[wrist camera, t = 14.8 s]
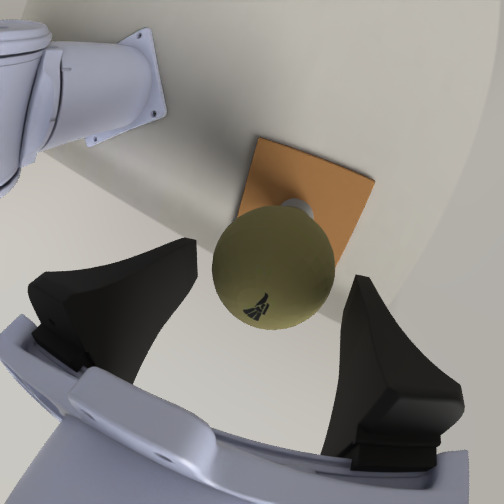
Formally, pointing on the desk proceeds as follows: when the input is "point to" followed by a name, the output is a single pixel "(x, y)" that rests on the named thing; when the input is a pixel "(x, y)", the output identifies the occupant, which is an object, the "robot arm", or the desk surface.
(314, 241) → the light bulb
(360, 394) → the robot arm
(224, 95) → the desk surface
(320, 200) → the mat
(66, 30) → the desk surface
